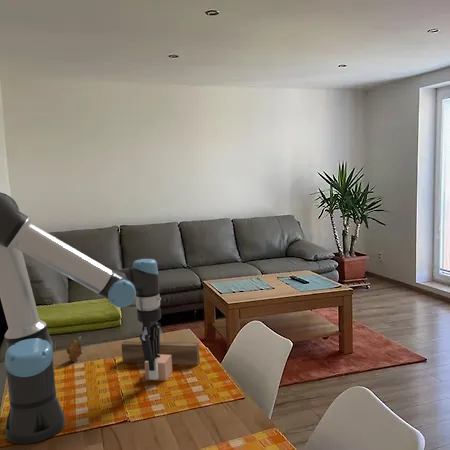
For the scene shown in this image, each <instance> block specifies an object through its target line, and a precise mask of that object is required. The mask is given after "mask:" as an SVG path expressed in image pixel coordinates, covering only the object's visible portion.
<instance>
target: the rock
mask: <svg viewBox="0 0 450 450" xmlns="http://www.w3.org/2000/svg"><path fill="white" fill-rule="evenodd" d="M79 342H83V338H82V336H79V337H78V340H75V339H73V340H71V341H70V342H69V345H68V347H67V348H66V353H67V354H68V359H69V360H70V361H72V362H76V361H77V360H78V358H79V357H80V356H81V355H82V354H83V351H82V349H81V348H82V346H81V345H80V343H79Z"/></svg>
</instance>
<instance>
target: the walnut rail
mask: <svg viewBox="0 0 450 450" xmlns="http://www.w3.org/2000/svg"><path fill="white" fill-rule="evenodd" d="M199 343H200V342H188V341H187V342H185V341H183V342H180V341H179V342H178V341H160V353H159V354H163V355H171V357H172V365H182V366H183V365H186V366H190V365H191V366H198V365H199V364H200V345H199ZM121 359H122V363H124V364H129V363H130V364H145V359H144V353H143V348H142V343H141V340H140V341H139V340H137V341H136V340H134V341H132V340H131V341H130V340H129V341H128V340H124V341H123V342H122V343H121Z"/></svg>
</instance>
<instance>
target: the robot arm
mask: <svg viewBox="0 0 450 450" xmlns="http://www.w3.org/2000/svg"><path fill="white" fill-rule="evenodd" d="M24 254H25V255H27V256H29V257H31V258H33V259H35V260H37V261H38V262H40V263H41V264H44V265H46V266H47V267H49V268H51V269H53V270H54V271H56V272H57V273H60V274H62V275H63V276H65V277H66V278H69V279H71V280H73V281H74V282H77V284H80V285H81V286H83V287H85V288H87V289H89V290H91V291H93V292H94V293H96V295H97V296H98V297H103V298H105V299H106V300H108V302H110V303H111V304H112V305H113V306H115V307H118V308H122V309H123V308H127V307H129V306H131V305H132V304H133V302H134V301H135V306H136V308H137V309H136V317H137V321H138V322H139V323H142V330H141V331H142V334H139V340H140V341H141V343H142V348H143V353H144V359H145V361H148V369H149V379H155V380H154V381H158V380H157V379H158V378H159V374H158V361H157V358H160V355H158V354H159V353H160V342H161V340H160V339H161V334H160V333H161V322H158V321H160V320H161V318H162V309H161V307H160V306H161V301H162V297H160V295H161V294H160V283H159V282H160V280H159V275H160V274H159V270H158V263H157V260H156V259H154V258H140V259H136V260H134V261H133V262H132V263H133V264H132V267H126V268H119V269H110V268H108V267H106V266H105V265H103V264H102V263H100V262H99V261H97V260H95V259H93V258H91V257H89V256H88V255H87V254H85V253H83V252H81V251H80V250H78V249H77V248H74V247H73V246H71V245H69V244H68V243H65V241H62V240H61V239H59V238H58V237H55V236H54V235H52V234H51V233H49V232H47V231H45V230H44V229H42V228H40V227H38V226H37V225H35V224H34V223H32V222H31V219H30V217H29V216H28V215H26V214H25V213H22V212H21V211H20V208H19V205H18V204H17V202H16V200H14V198H13V197H11V196H10V195H8V194H7V193H3V192H0V302H1V305H2V309H3V313H4V316H5V321H6V324H7V327H8V329H7V330H6V332H5V334H4V339H5V343H6V346H7V350H6V352H5V355H4V356H5V358H4V367H5V369H6V380H7V381H6V382H7V389H8V391H7V392H8V400H9V409H8V415H7V418H6V423H5V427H4V429H5V430H4V432H5V437H6V438H5V439H6V440H7V441H8V442H10V443H12V444H16V445H29V444H35V443H39V442H42V441H45V440H48V439H50V438H52V437H53V436H56V435H58V434H59V433H60V432H61V431H63V429H64V427H65V425H66V414H65V412H64V410H63V408H62V406H61V403H60V401H59V400H58V397H57V391H56V389H57V388H56V381H55V380H56V379H55V368H54V342H53V340H52V339H53V338H52V337H51V336H50V333H49V328H48V325H47V322H45V321H44V320H41V319H40V316H39V312H38V308H37V305H36V300H35V297H34V293H33V288H32V285H31V281H30V276H29V273H28V269H27V265H26V261H25V258H24Z"/></svg>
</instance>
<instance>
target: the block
mask: <svg viewBox="0 0 450 450" xmlns="http://www.w3.org/2000/svg"><path fill="white" fill-rule="evenodd" d="M158 355H160V358H157V361H158V374H159V378H158V379H157V380H155V379H149V369H148V361H145V363H144V374H145V376H144V377H145V380H146V381H167V380H168V379H169V377H170V376H171V374H172V373H173V364H172V357H171V355H163V354H158Z"/></svg>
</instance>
